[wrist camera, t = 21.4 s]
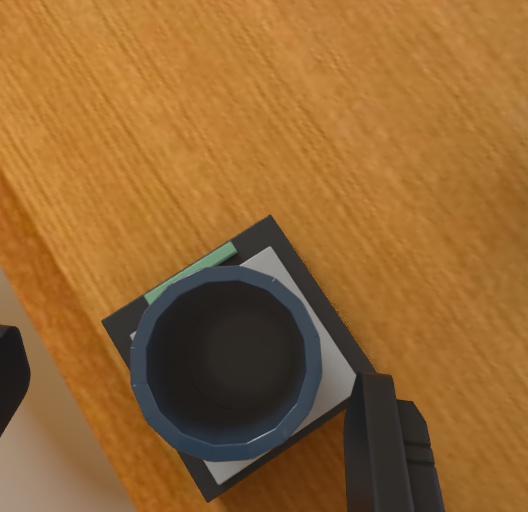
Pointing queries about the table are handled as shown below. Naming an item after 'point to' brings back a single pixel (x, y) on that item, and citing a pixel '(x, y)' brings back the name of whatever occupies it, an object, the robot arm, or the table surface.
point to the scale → (320, 310)
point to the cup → (226, 363)
